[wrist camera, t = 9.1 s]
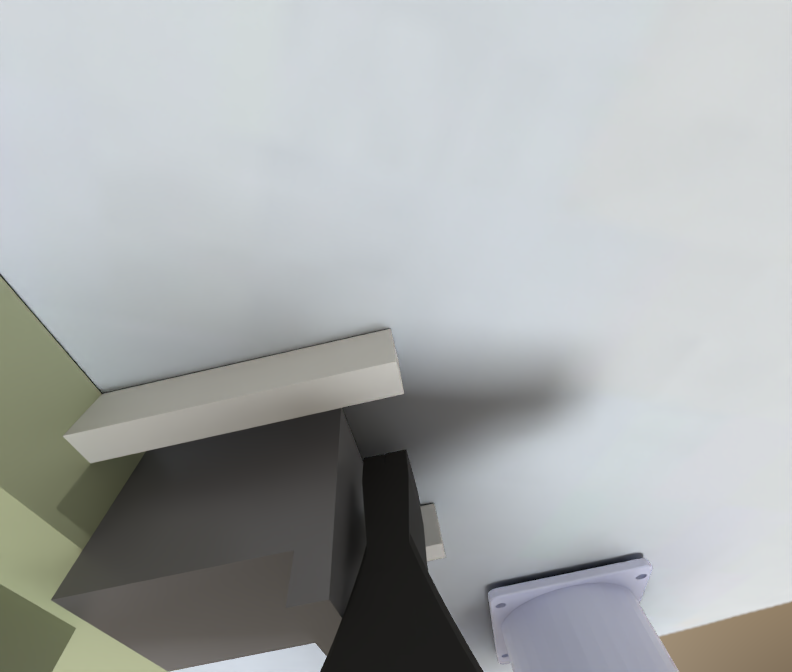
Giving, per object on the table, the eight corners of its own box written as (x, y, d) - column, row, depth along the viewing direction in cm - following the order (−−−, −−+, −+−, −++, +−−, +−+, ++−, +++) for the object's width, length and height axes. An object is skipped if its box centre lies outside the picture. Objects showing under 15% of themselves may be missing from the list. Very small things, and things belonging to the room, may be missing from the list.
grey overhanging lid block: (375, 494, 13) (383, 679, 9) (217, 527, 13) (149, 724, 9) (341, 405, 11) (328, 599, 6) (148, 447, 11) (10, 663, 6)
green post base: (439, 524, 14) (485, 747, 9) (52, 606, 15) (-109, 863, 10) (343, 137, 7) (307, 183, 2) (-424, 322, 7) (-2162, 771, 2)
